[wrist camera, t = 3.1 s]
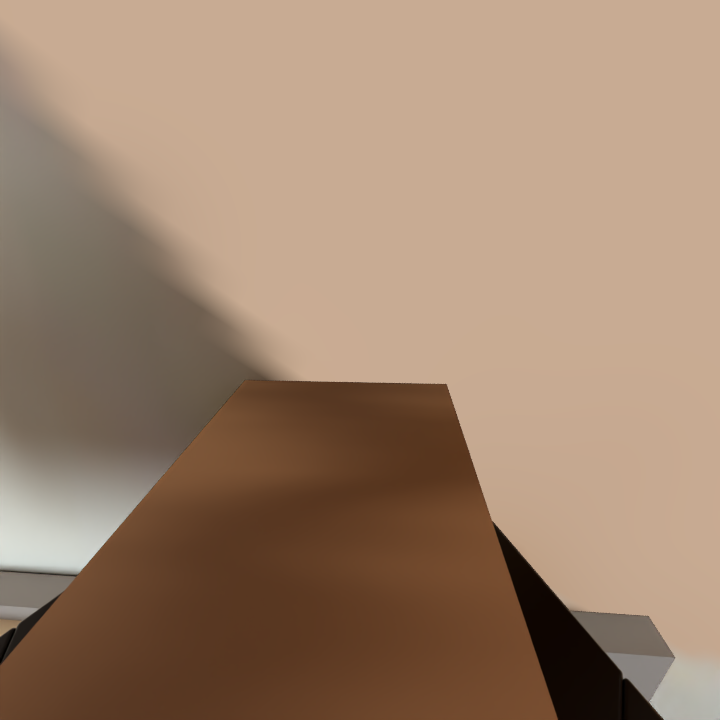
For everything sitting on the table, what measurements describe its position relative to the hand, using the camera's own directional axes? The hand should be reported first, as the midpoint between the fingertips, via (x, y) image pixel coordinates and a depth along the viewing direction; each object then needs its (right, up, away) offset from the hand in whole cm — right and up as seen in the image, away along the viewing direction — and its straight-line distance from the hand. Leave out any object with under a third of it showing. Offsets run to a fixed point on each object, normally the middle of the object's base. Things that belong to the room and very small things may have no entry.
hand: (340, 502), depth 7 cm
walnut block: (0, +1, +1) cm, 1 cm away
